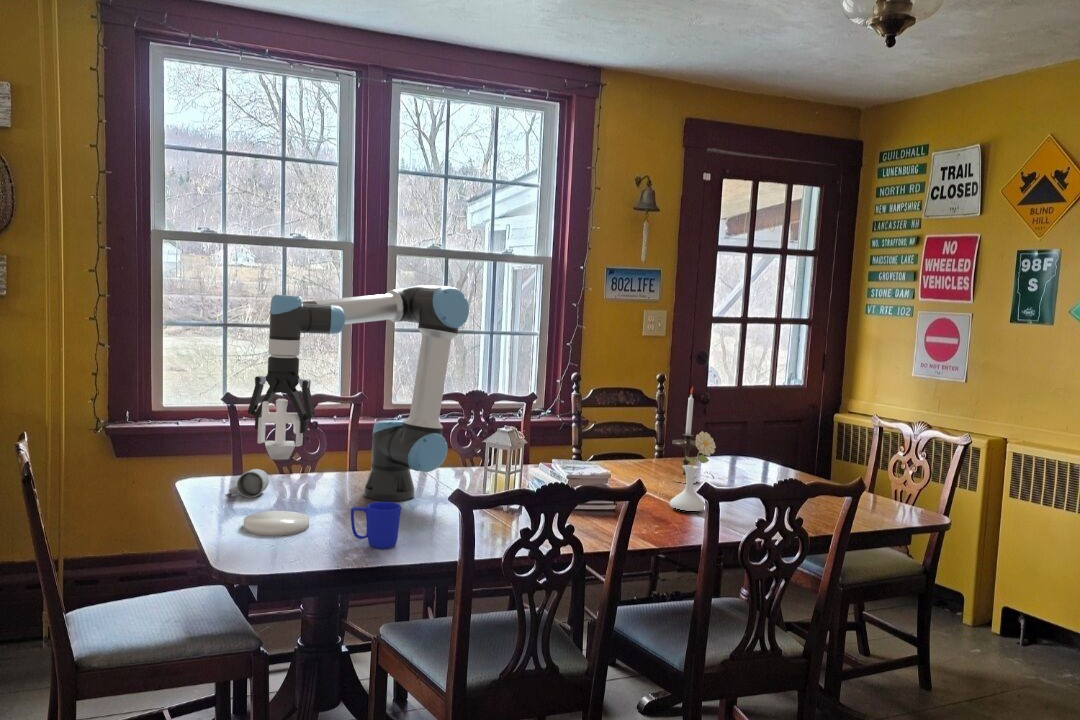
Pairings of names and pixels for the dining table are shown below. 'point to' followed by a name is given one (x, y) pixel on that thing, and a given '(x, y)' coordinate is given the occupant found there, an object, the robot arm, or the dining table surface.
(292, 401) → the robot arm
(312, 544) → the dining table surface
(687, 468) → the flower in vase
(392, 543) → the mug
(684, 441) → the candlestick
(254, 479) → the ceramic mug
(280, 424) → the figurine
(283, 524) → the disc
